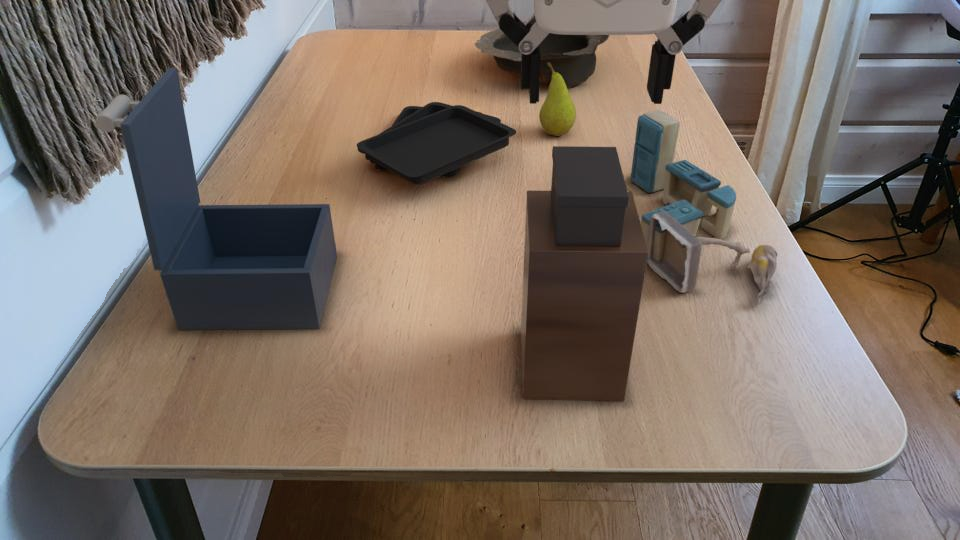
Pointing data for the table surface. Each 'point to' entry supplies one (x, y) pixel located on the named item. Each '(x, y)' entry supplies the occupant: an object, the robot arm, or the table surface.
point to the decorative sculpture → (686, 251)
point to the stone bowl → (547, 54)
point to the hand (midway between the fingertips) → (593, 96)
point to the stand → (578, 308)
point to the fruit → (557, 107)
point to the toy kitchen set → (676, 182)
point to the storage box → (252, 267)
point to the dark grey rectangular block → (588, 196)
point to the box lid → (158, 161)
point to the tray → (435, 141)
